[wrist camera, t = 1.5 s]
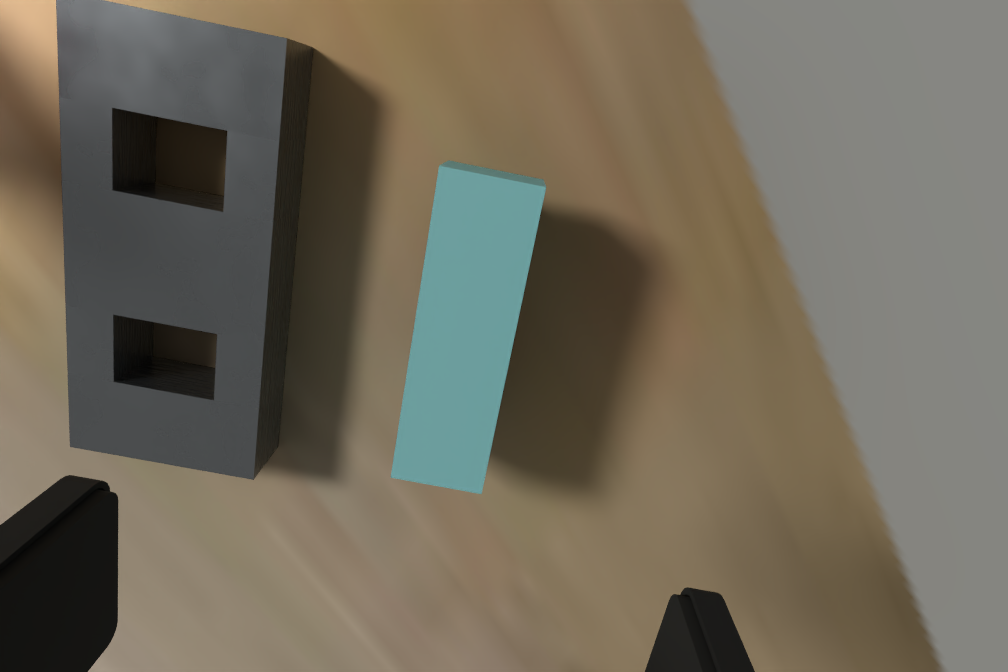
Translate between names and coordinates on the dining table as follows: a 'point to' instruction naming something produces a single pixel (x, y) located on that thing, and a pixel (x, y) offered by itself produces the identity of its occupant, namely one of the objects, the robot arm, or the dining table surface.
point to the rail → (177, 233)
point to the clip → (465, 323)
